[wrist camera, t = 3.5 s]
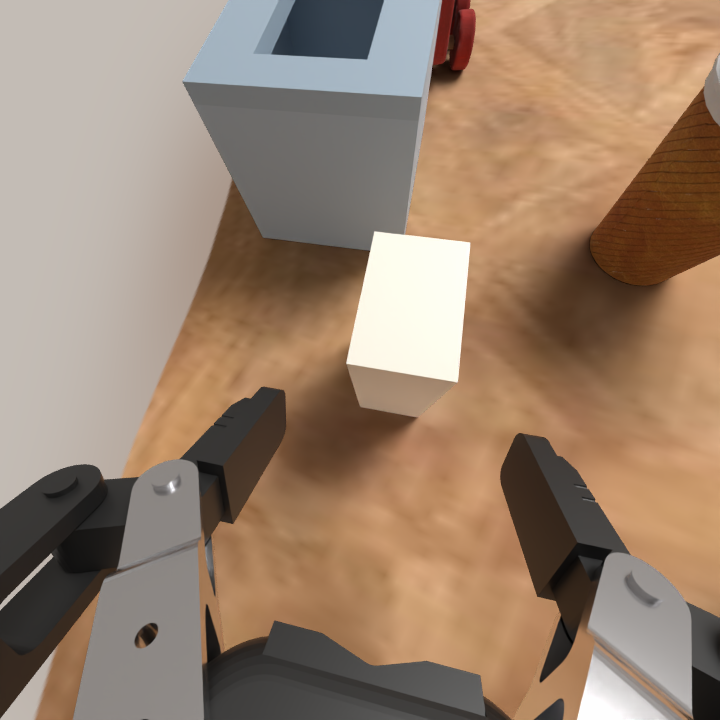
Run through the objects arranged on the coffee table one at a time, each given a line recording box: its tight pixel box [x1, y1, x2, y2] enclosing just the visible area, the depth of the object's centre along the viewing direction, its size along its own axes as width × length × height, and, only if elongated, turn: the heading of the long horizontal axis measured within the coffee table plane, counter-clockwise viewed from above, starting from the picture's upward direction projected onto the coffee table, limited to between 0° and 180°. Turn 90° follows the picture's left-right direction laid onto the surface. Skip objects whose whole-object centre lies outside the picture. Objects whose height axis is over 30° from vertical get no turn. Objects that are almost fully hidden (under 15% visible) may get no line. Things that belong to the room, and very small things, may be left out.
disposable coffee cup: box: [590, 53, 720, 286], centre depth 17 cm, size 10×10×12 cm
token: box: [346, 231, 470, 417], centre depth 16 cm, size 6×4×10 cm, turn 169°
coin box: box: [183, 0, 442, 251], centre depth 21 cm, size 14×12×11 cm
